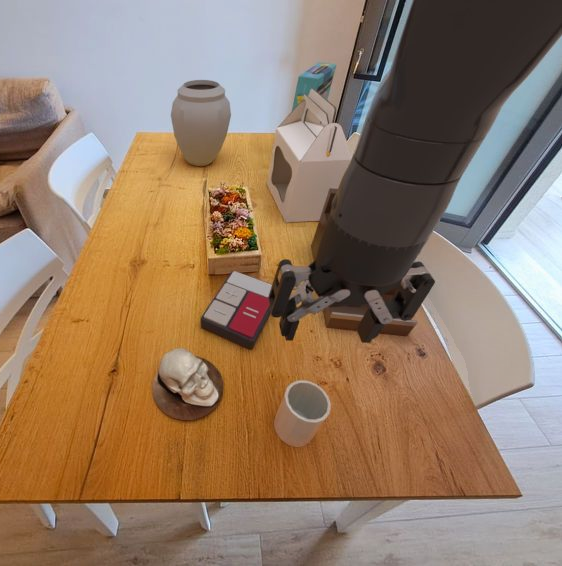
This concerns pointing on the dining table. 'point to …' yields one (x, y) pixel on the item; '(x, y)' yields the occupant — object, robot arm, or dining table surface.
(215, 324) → the calculator
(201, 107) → the vase
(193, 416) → the skull
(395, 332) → the shelf rack
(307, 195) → the gable box
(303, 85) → the game box
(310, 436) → the cup
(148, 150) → the dining table surface
